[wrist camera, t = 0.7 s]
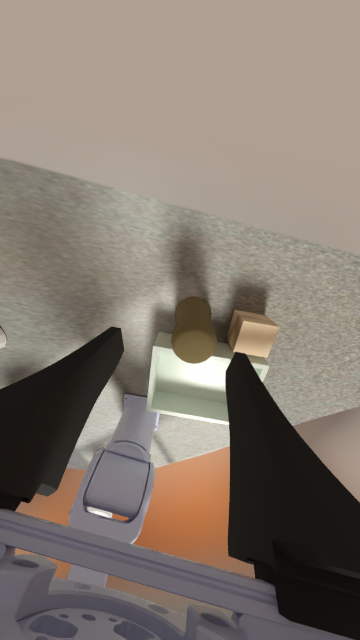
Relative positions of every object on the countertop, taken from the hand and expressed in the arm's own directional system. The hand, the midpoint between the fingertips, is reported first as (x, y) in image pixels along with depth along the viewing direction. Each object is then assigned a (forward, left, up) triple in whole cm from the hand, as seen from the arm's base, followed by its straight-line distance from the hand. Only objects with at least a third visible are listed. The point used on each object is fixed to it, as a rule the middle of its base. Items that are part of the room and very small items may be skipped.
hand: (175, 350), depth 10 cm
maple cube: (-4, -11, -17) cm, 21 cm away
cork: (-3, -2, -17) cm, 18 cm away
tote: (-14, -5, -17) cm, 23 cm away
